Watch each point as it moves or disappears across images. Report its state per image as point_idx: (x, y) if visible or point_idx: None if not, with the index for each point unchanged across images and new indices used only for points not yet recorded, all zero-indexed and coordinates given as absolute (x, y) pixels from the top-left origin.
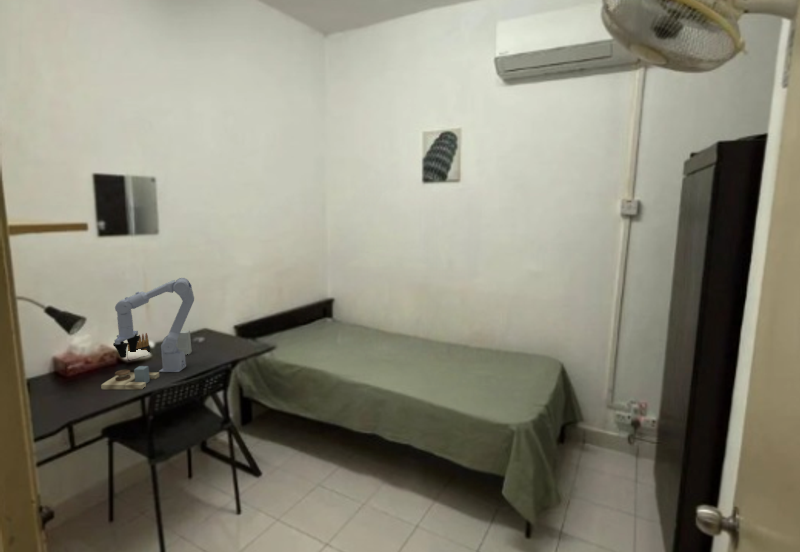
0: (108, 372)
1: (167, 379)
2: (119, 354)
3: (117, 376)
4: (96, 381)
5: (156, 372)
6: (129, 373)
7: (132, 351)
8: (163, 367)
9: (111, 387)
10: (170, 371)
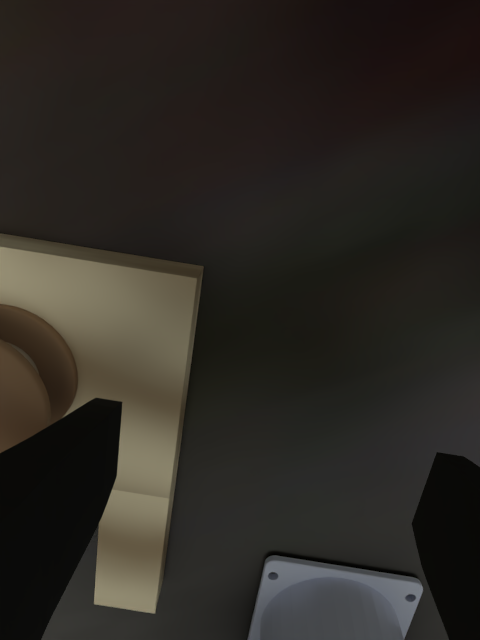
0: (373, 36)
1: (99, 637)
2: (50, 428)
3: (62, 291)
4: (71, 30)
5: (155, 596)
6: (149, 381)
7: (426, 493)
8: (282, 616)
9: None
10: (249, 635)
